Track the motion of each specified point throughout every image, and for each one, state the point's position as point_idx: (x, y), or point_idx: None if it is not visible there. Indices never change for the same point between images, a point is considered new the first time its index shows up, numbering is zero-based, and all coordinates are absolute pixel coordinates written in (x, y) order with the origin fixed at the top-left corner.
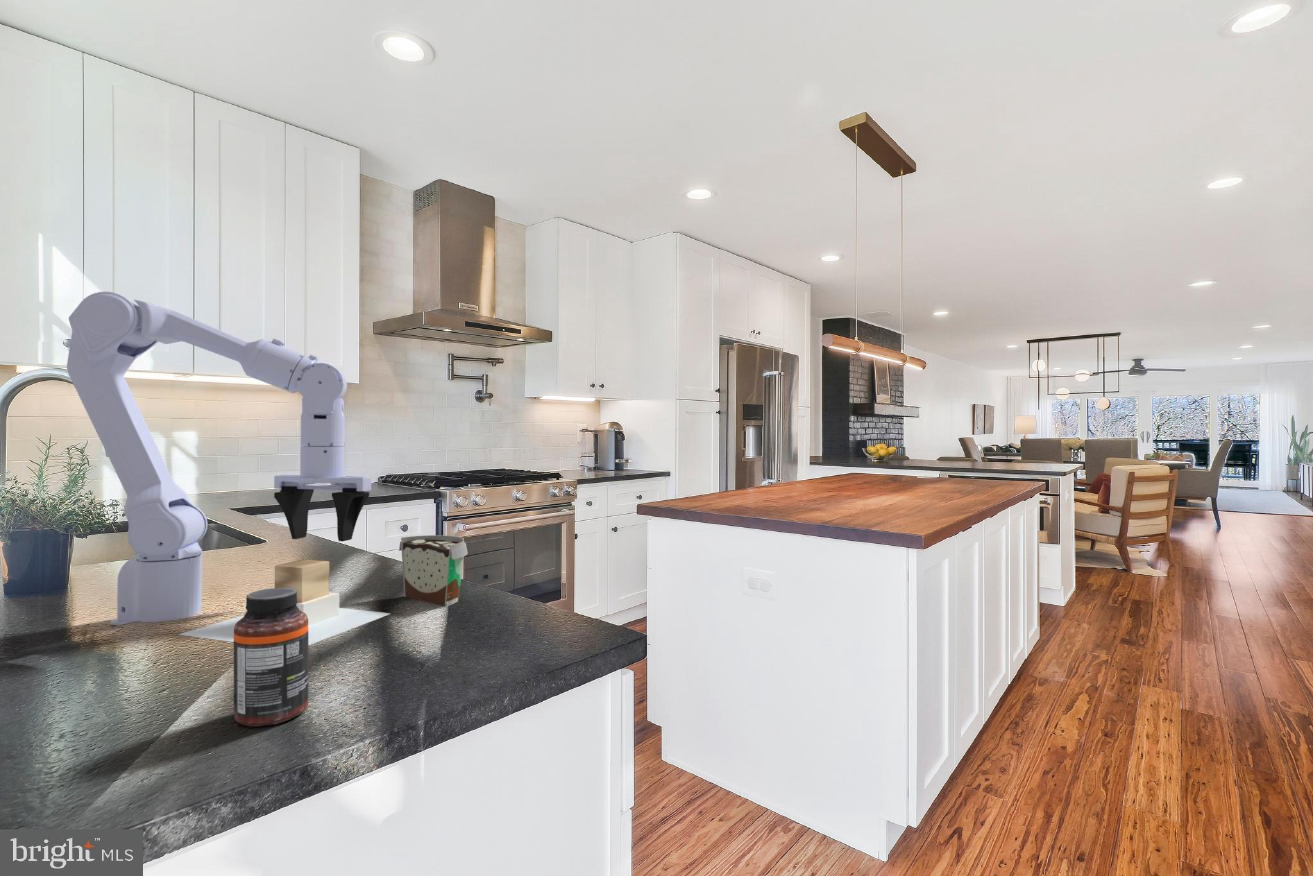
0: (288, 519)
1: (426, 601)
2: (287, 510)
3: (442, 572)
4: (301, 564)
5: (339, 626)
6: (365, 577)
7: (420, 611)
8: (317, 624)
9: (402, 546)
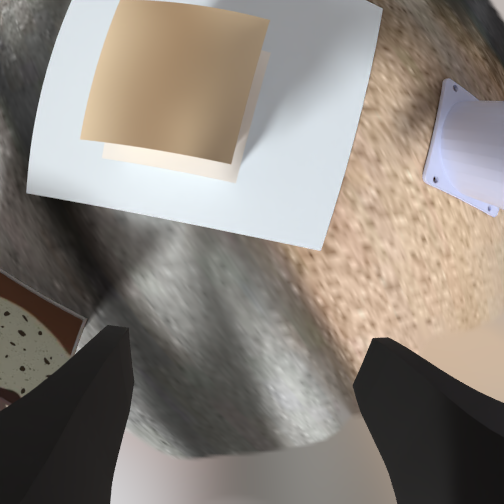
0: (450, 383)
1: (22, 294)
2: (483, 409)
3: None
4: (162, 52)
5: (74, 74)
6: (284, 446)
7: (25, 265)
8: None
9: None
